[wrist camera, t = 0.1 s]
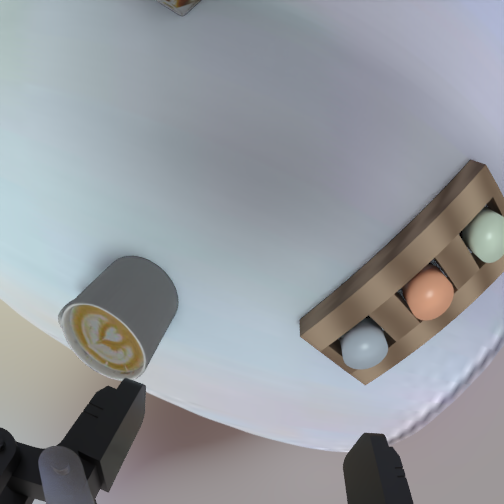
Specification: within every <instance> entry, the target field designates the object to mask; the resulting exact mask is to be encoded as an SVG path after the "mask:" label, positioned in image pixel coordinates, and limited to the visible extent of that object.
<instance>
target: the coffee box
mask: <svg viewBox="0 0 504 504" xmlns="http://www.w3.org/2000/svg"><path fill="white" fill-rule="evenodd" d="M156 1H158V2H159V3H161V4H162V5H164V6H166V7H167V8H169V9H170V10H172V11H174V12H175V13H177V14H179V15H181V16H184V15H185V14H186V13H188V12H189V11H190V10H191V9H192V8H193V7H194V6H195V5H196V4H197V3H198V2H199V1H200V0H156Z"/></svg>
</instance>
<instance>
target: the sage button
mask: <svg viewBox="0 0 504 504" xmlns="http://www.w3.org/2000/svg"><path fill="white" fill-rule="evenodd" d="M462 235H463V241H464V243H465V245H466V247H467V248H468V249H470V250H471V251H472V252H473V253H474V254H475V255H476V256H477V257H479V258H480V259H481V260H482V261H483V262H486V263H492V262H495V261H497V260H499V259H500V258H501V257H502V256H503V255H504V217H503V216H501V215H499V214H498V213H496V212H494V211H493V210H491V209H489V208H487V207H484V208H483V209H482V210H481V211H480V212H479V213H478V214H477V215H476V216H475V217H474V218H473V220H472V221H471V222H470V223H469V224H468V225H467V226H466V227H465V228H464V229H463V232H462Z"/></svg>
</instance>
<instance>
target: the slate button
mask: <svg viewBox="0 0 504 504" xmlns="http://www.w3.org/2000/svg"><path fill="white" fill-rule="evenodd" d="M340 344H341V349H342V355H343V360H344V362H345V364H346V365H347V366H349V367H351V368H353V369H368V368H371V367H373V366H375V365H377V364H379V363H380V362H381V361H382V360H383V359H384V358H385V356H386V354H387V352H388V345H387V342H386V339H385V336H384V333H383V331H382V328H381V326H380V325H379V324H377V323H376V322H375V321H374V320H373V319H370V318H364V319H363V320H362V321H360V322H359V323H358V324H357V325H355V326H354V327H353V328H351V329H350V330H349V331H347V332H346V333H345V334H344V335H342V336H341V337H340Z"/></svg>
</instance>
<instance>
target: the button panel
mask: <svg viewBox="0 0 504 504" xmlns="http://www.w3.org/2000/svg"><path fill="white" fill-rule="evenodd" d="M486 204H487V206H488V208H489V209H491V210H493V211H494V212H496V213H498V214H499V215H501V216H503V217H504V197H503V195H502V193H501V191H500V189H499V187H498V185H497V184H496V182H495V180H494V178H493V176H492V175H491V173H490V171H489V169H488V168H487V166H486V165H485V164H482V163H479V162H476V161H473V160H470V161H469V162H468V163H467V164H466V165H465V166H464V168H463V169H462V170H461V171H460V172H459V173H458V174H457V175H456V176H455V177H454V178H453V179H452V181H451V182H450V183H449V184H448V185H447V186H446V187H445V188H444V189H443V190H442V191H441V192H440V193H439V194H438V195H437V196H436V197H435V198H434V199H433V200H432V201H431V202H430V203H429V204H428V205H427V206H426V207H425V208H424V209H423V210H422V211H421V212H420V213H419V214H418V215H417V216H416V217H415V218H414V219H413V220H412V221H411V222H410V223H409V224H408V225H407V226H406V227H405V228H404V229H403V230H402V231H401V232H400V233H399V234H398V235H397V236H396V237H395V238H394V239H392V240H391V241H390V242H389V243H388V244H387V245H386V246H385V247H384V248H383V249H382V250H381V251H380V252H378V253H377V254H376V255H375V256H374V257H373V258H372V259H371V260H370V261H368V262H367V263H366V264H365V265H364V266H363V267H362V268H361V269H360V270H358V271H357V272H356V273H355V274H354V275H353V276H352V277H350V278H349V279H348V280H347V281H346V282H345V283H343V284H342V285H341V286H340V287H339V288H338V289H336V290H335V291H334V292H333V293H332V294H330V295H329V296H328V297H327V298H326V299H325V300H323V301H322V302H321V303H320V304H318V305H317V306H316V307H315V308H314V309H312V310H311V311H310V312H309V313H307V314H306V315H305V316H304V317H302V318H301V319H300V337H301V338H303V339H304V340H305V341H307V342H308V343H309V344H311V345H312V346H313V347H314V348H316V349H317V350H318V351H320V352H321V353H322V354H324V355H325V356H326V357H328V358H329V359H330V360H332V361H333V362H334V363H336V364H337V365H338V366H340V367H341V368H342V369H344V370H345V371H346V372H348V373H349V374H351V375H352V376H353V377H355V378H356V379H357V380H359V381H360V382H361V383H363V384H364V385H366V384H368V383H370V382H371V381H373V380H374V379H376V378H377V377H379V376H380V375H382V374H383V373H385V372H386V371H388V370H389V369H390V368H392V367H393V366H395V365H396V364H398V363H399V362H400V361H402V360H403V359H405V358H406V357H407V356H409V355H410V354H411V353H413V352H414V351H415V350H417V349H418V348H419V347H421V346H422V345H423V344H424V343H426V342H427V341H428V340H430V339H431V338H432V337H433V336H435V335H436V334H437V333H438V332H439V331H441V330H442V329H443V328H444V327H445V326H447V325H448V324H449V323H450V322H451V321H452V320H454V319H455V318H456V317H457V316H458V315H459V314H460V313H462V312H463V311H464V310H465V309H466V308H467V307H468V306H469V305H470V304H471V303H473V302H474V301H475V300H476V299H477V298H478V297H479V296H480V295H481V294H482V293H483V292H484V291H485V290H486V289H487V288H488V287H489V286H490V285H491V284H492V283H493V282H494V281H495V280H496V279H497V278H498V277H499V276H500V275H501V274H502V273H503V272H504V255H503V256H502V257H501V258H500V259H499V260H497V261H495V262H492V263H486V262H483V261H482V260H481V259H480V258H479V257H477V256H476V255H475V254H474V253H473V252H472V253H470V252H469V250H468V249H467V247H466V245H465V244H464V242H463V240H462V239H461V237H460V236H459V233H460V232H461V231H462V230H463V229H464V228H465V227H466V226H467V225H468V224H469V223H470V222H471V221H472V220H473V218H474V217H475V216H476V215H477V214H478V213H479V212H480V211H481V210H482V209H483V208H484V206H485V205H486ZM433 259H435V261H436V262H437V263H438V265H439V266H440V267H441V269H442V270H443V272H444V273H445V275H446V276H447V279H448V280H449V281H450V283H451V284H452V286H453V289H454V296H453V300H452V302H451V304H450V306H449V308H448V309H447V310H446V311H445V312H444V313H443V314H442V315H440V316H439V317H437V318H435V319H432V320H420V319H418V318H416V317H415V316H414V315H413V313H412V311H411V309H410V307H409V305H408V304H407V302H406V301H405V300H404V298H403V297H402V296H401V295H400V294H399V293H398V292H397V291H398V290H399V289H401V288H402V287H403V286H404V285H405V284H406V283H407V282H409V281H410V280H411V279H412V278H413V277H414V276H415V275H416V274H418V273H419V272H420V271H421V270H422V269H423V268H424V267H425V266H426V265H427V264H428V263H429V262H431V261H432V260H433ZM368 315H369V316H370V317H371V318H372V319H373V320H374V321H375V322H376V323H377V324H379V325H380V326H381V327H382V328H383V329H384V331H383V333H384V336H385V339H386V342H387V345H388V352H387V354H386V356H385V358H384V359H383V360H382V361H381V362H380V363H379V364H377V365H375V366H373V367H371V368H368V369H353V368H351V367H349V366H347V365H346V364H345V362H344V360H343V355H342V349H341V344H340V340H339V339H338V338H340V337H341V336H342V335H344V334H345V333H346V332H347V331H349V330H350V329H351V328H353V327H354V326H355V325H357V324H358V323H359V322H360V321H362V320H363V319H364V318H366V317H367V316H368Z"/></svg>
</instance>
